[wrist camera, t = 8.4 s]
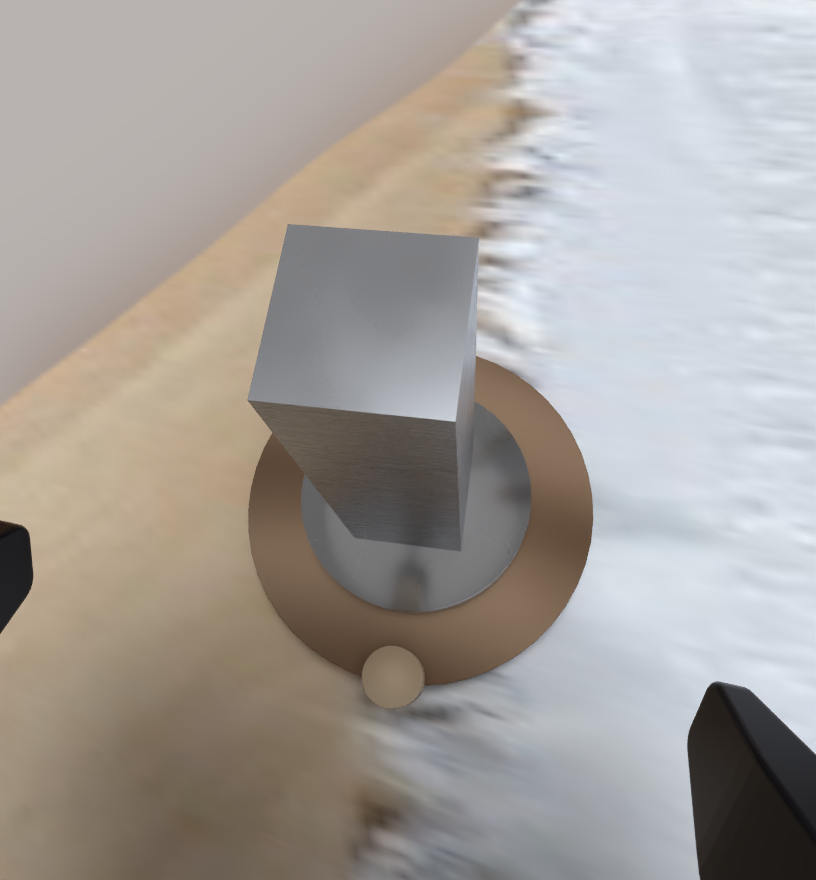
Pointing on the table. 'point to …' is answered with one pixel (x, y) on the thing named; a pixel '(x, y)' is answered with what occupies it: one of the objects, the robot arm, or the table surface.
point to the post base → (450, 632)
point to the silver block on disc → (390, 416)
